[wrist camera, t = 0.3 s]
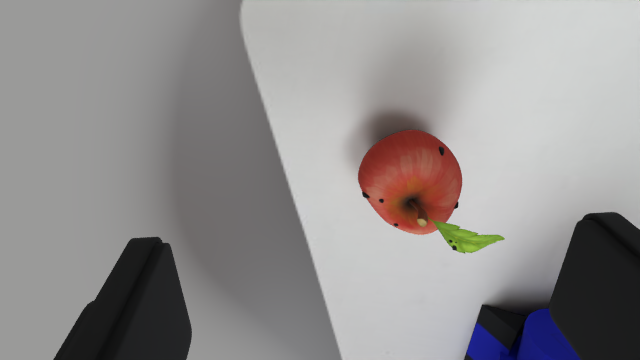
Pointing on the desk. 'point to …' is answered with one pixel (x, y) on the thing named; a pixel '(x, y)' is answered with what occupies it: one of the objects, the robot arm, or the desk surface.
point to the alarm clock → (517, 337)
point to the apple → (417, 187)
